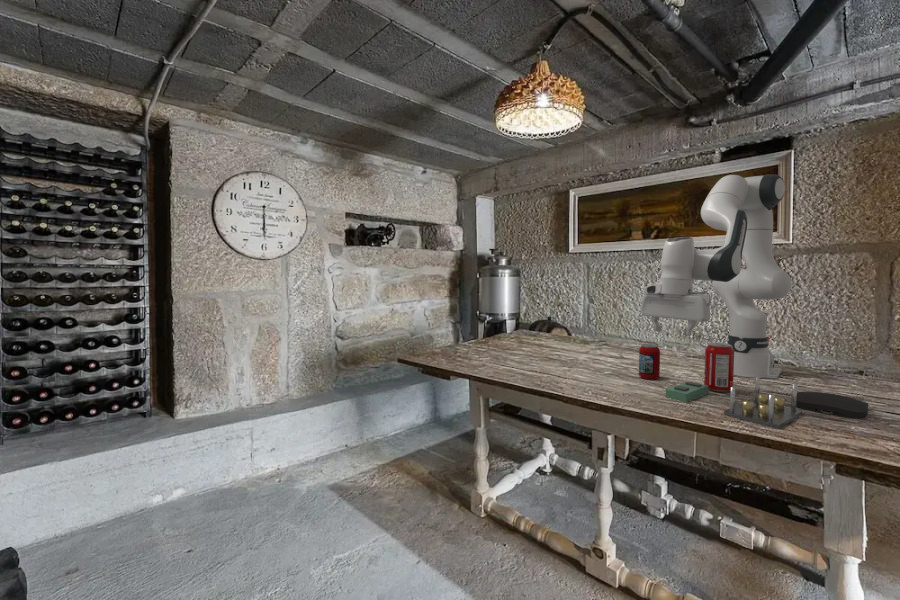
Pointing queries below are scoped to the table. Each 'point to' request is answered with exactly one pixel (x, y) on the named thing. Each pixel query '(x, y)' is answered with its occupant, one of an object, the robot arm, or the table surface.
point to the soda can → (719, 367)
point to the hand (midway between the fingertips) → (672, 333)
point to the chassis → (764, 408)
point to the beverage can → (649, 361)
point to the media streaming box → (832, 404)
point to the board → (686, 391)
